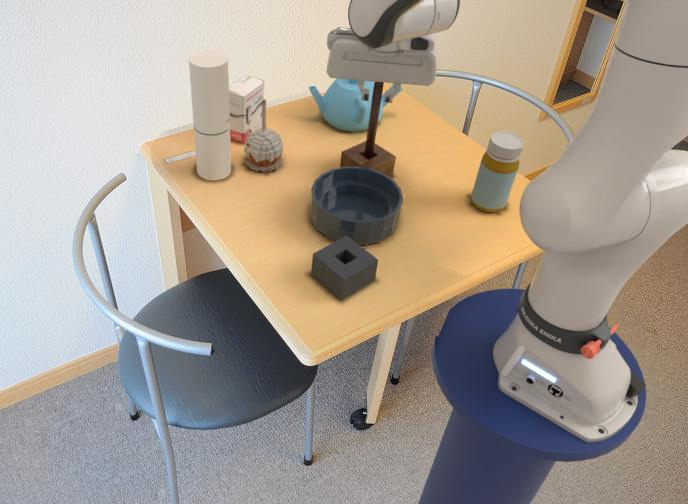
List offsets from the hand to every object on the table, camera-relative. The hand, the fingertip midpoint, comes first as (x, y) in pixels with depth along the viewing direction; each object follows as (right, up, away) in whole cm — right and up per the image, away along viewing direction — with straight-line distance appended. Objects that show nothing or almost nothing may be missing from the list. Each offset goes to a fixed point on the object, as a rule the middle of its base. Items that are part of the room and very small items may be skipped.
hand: (376, 100), depth 127 cm
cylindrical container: (-33, -12, +11) cm, 37 cm away
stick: (-1, -13, +12) cm, 17 cm away
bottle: (+23, -19, +6) cm, 31 cm away
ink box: (-27, -2, +22) cm, 35 cm away
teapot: (-2, +3, +28) cm, 28 cm away
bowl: (-4, -23, +1) cm, 23 cm away
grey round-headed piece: (-22, -10, +14) cm, 28 cm away
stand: (-7, -34, -11) cm, 36 cm away
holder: (-1, -13, +12) cm, 17 cm away
